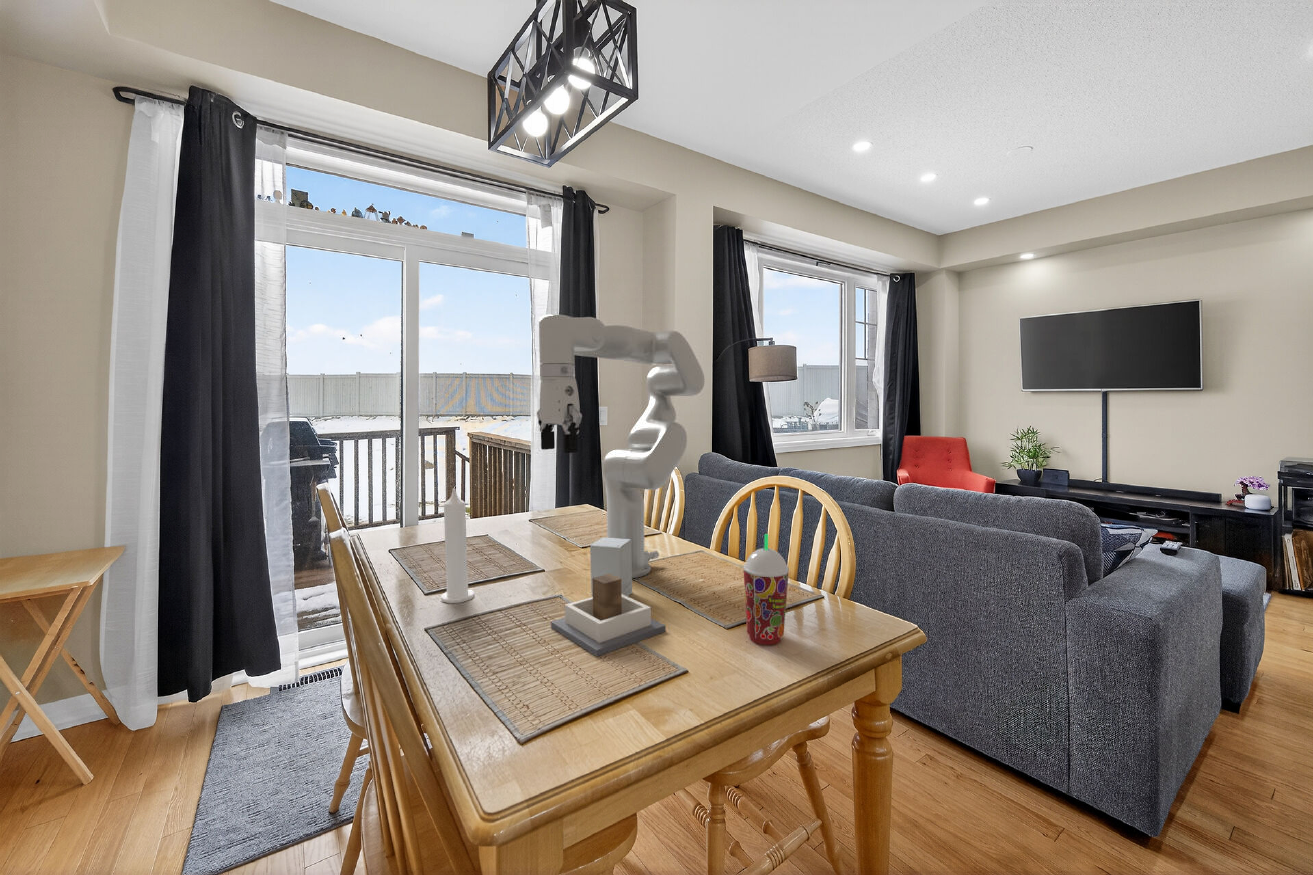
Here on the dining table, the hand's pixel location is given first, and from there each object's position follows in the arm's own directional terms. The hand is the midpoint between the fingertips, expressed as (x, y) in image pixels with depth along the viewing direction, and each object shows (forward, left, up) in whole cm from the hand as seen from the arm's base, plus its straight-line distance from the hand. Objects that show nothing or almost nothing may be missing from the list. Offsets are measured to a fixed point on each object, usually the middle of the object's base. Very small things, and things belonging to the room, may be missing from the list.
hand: (559, 450), depth 125 cm
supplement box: (-9, +7, -34) cm, 35 cm away
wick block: (+2, +21, -32) cm, 38 cm away
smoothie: (-18, +44, -34) cm, 58 cm away
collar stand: (+2, +21, -33) cm, 39 cm away
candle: (+18, -15, -34) cm, 41 cm away
